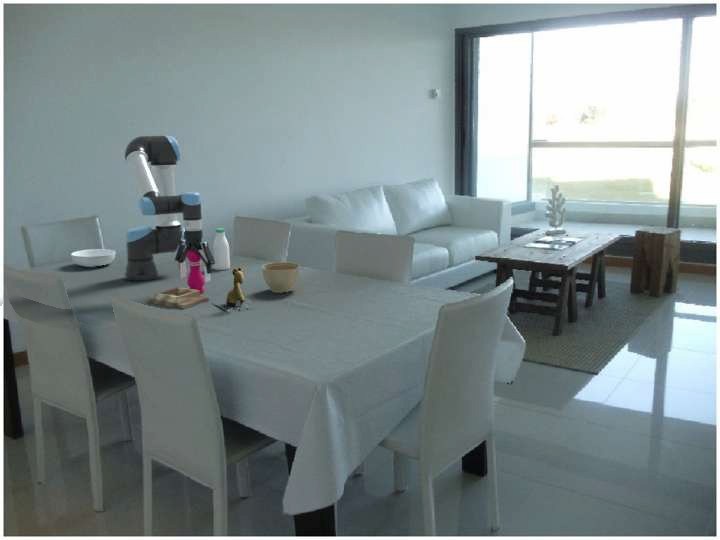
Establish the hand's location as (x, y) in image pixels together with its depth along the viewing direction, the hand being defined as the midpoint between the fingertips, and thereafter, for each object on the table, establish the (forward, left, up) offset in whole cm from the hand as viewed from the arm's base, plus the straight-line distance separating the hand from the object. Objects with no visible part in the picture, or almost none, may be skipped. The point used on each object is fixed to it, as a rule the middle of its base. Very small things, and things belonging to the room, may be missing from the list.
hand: (195, 279), depth 287 cm
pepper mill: (0, 0, -6) cm, 6 cm away
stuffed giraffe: (+28, -7, -6) cm, 29 cm away
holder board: (+4, -15, -6) cm, 17 cm away
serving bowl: (-84, +17, -6) cm, 86 cm away
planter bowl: (+30, +20, -6) cm, 37 cm away
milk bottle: (-22, +42, -6) cm, 48 cm away
